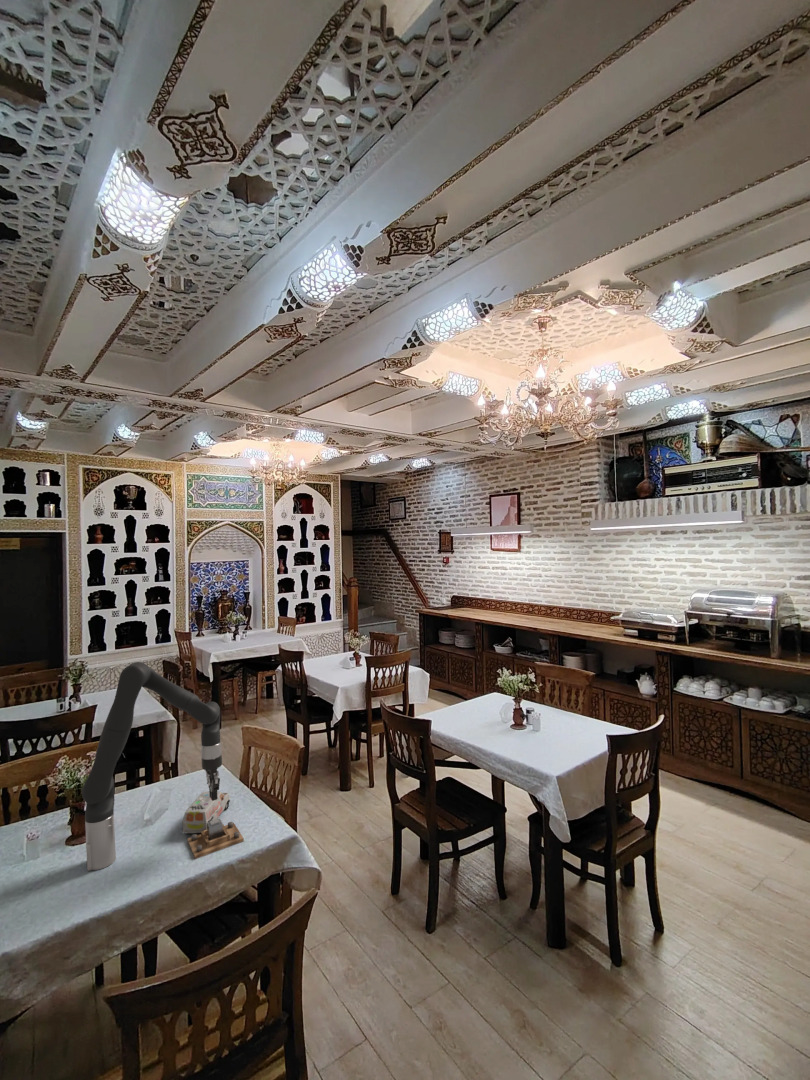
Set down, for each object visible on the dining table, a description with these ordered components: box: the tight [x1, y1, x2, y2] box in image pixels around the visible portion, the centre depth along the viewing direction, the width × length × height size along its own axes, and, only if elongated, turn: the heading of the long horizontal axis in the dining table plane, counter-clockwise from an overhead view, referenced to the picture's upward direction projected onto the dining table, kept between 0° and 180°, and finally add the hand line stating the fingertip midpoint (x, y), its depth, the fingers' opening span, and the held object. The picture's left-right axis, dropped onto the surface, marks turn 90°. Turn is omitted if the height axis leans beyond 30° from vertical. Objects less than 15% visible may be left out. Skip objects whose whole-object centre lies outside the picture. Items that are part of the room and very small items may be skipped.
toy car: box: [182, 790, 231, 834], centre depth 217 cm, size 11×25×10 cm, turn 177°
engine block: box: [207, 818, 224, 841], centre depth 201 cm, size 5×4×7 cm
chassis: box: [187, 821, 245, 860], centre depth 201 cm, size 18×14×3 cm
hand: (213, 798), depth 201 cm, fingers closed
